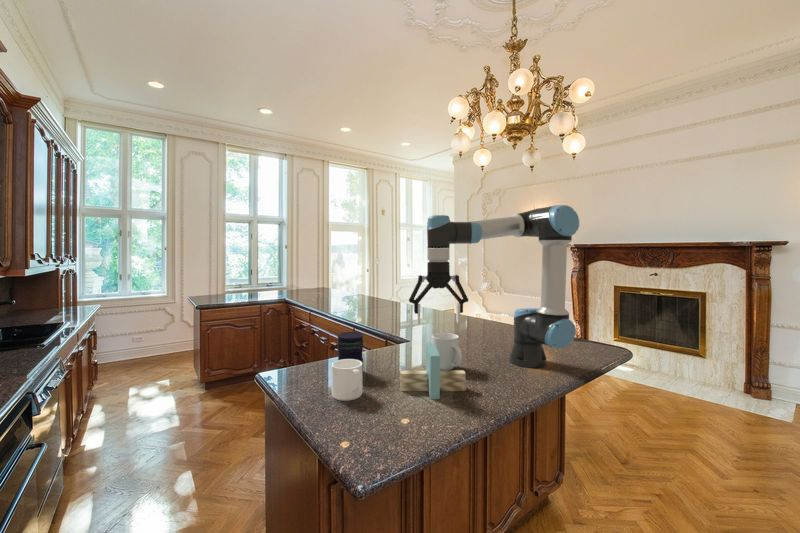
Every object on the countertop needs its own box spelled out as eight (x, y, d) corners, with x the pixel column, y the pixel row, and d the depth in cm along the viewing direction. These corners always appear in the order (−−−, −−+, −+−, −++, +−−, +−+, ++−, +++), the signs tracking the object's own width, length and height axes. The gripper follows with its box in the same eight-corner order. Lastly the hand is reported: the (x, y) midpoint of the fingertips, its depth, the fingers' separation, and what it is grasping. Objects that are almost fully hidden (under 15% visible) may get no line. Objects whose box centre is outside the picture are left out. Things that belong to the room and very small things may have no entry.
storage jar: (368, 373, 136) (368, 334, 136) (348, 379, 129) (348, 339, 128) (352, 367, 143) (352, 330, 142) (332, 373, 136) (332, 334, 135)
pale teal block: (439, 399, 113) (440, 356, 112) (430, 399, 113) (430, 356, 112) (433, 380, 129) (434, 342, 128) (425, 380, 129) (425, 342, 128)
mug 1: (326, 393, 117) (326, 362, 117) (353, 386, 123) (353, 357, 123) (343, 406, 107) (343, 373, 107) (372, 398, 113) (372, 367, 112)
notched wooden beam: (463, 387, 122) (464, 370, 122) (465, 390, 119) (465, 373, 119) (400, 387, 122) (400, 370, 122) (400, 391, 119) (400, 373, 119)
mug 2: (471, 372, 138) (471, 339, 137) (449, 377, 132) (450, 343, 131) (446, 361, 150) (446, 331, 150) (425, 366, 144) (425, 334, 144)
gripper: (472, 260, 125) (471, 319, 126) (401, 261, 124) (402, 320, 125) (477, 261, 117) (477, 324, 118) (402, 261, 116) (402, 325, 117)
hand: (438, 322), depth 122 cm, fingers open, 13 cm apart
